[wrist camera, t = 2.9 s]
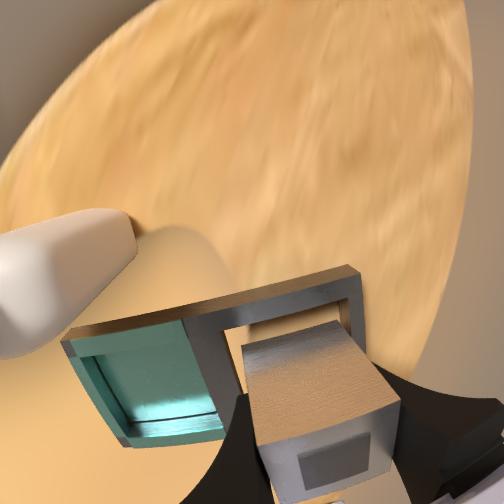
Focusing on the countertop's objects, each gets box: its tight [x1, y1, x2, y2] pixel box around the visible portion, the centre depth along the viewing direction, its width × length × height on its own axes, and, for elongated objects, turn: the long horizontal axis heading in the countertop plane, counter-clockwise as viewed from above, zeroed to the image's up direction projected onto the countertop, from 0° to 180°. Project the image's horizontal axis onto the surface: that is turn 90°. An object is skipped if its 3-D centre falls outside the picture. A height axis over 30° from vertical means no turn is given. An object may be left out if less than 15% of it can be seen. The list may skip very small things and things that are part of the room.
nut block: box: [241, 320, 401, 504], centre depth 11 cm, size 4×4×6 cm
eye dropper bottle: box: [0, 208, 137, 360], centre depth 7 cm, size 4×6×12 cm
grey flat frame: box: [60, 264, 366, 448], centre depth 15 cm, size 8×15×2 cm, turn 103°
